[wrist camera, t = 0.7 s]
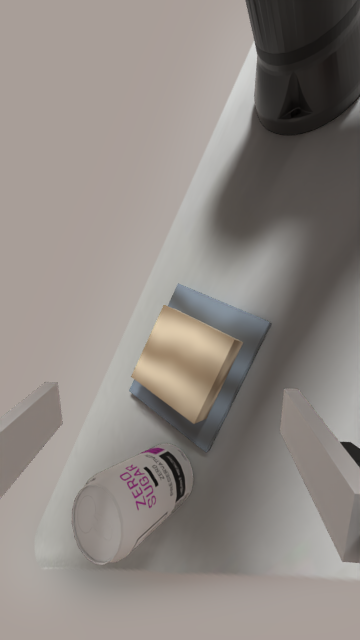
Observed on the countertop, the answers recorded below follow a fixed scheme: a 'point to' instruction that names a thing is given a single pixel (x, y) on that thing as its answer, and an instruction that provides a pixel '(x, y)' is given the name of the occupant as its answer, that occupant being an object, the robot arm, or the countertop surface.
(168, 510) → the supplement can
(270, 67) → the robot arm
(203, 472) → the countertop surface
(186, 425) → the base
